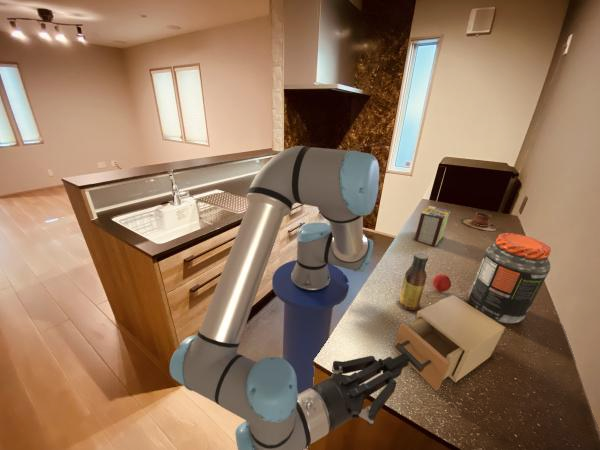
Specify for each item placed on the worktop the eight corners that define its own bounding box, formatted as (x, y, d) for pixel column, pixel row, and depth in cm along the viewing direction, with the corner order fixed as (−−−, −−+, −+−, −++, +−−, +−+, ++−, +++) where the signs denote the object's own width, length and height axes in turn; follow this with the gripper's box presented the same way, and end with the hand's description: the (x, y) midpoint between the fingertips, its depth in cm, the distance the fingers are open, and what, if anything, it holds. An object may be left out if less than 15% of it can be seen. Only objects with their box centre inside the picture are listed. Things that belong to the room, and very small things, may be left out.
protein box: (442, 237, 135) (450, 210, 129) (435, 246, 124) (443, 218, 118) (422, 231, 141) (429, 205, 135) (413, 239, 130) (420, 212, 124)
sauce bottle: (407, 296, 88) (421, 248, 80) (422, 308, 83) (438, 257, 75) (393, 301, 85) (406, 251, 77) (408, 313, 80) (423, 262, 72)
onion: (430, 284, 95) (436, 267, 92) (447, 289, 93) (453, 271, 90) (430, 293, 90) (436, 275, 87) (448, 298, 88) (455, 280, 85)
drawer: (423, 399, 55) (434, 373, 51) (382, 354, 65) (388, 329, 61) (471, 365, 63) (484, 340, 60) (428, 329, 73) (436, 306, 70)
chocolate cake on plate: (471, 217, 165) (475, 207, 162) (502, 227, 151) (506, 217, 149) (457, 222, 156) (461, 211, 153) (488, 233, 143) (493, 222, 140)
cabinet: (455, 382, 60) (469, 351, 55) (408, 339, 71) (417, 311, 66) (490, 356, 67) (505, 327, 62) (442, 321, 78) (452, 294, 73)
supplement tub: (513, 301, 88) (546, 237, 78) (530, 333, 75) (572, 260, 65) (463, 288, 94) (487, 226, 84) (470, 315, 81) (500, 246, 70)
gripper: (343, 433, 40) (436, 372, 50) (304, 366, 50) (388, 327, 61) (338, 458, 43) (426, 395, 54) (302, 389, 53) (382, 348, 64)
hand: (406, 359), depth 57 cm, fingers closed
